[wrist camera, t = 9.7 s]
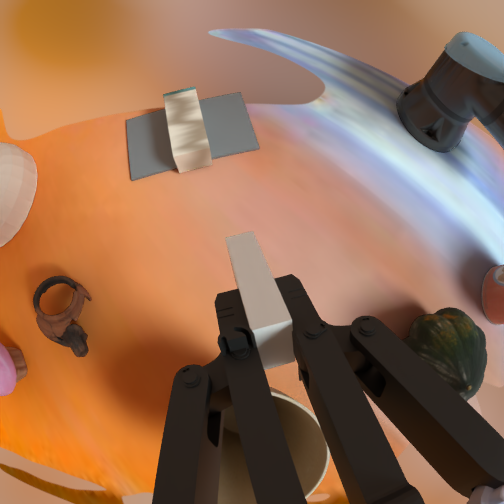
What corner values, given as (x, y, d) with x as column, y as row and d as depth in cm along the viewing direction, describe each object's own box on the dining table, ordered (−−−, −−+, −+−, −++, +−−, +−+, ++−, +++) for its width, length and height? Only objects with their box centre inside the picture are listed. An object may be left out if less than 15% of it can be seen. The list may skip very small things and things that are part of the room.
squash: (480, 296, 35) (492, 311, 24) (482, 384, 33) (488, 428, 21) (400, 311, 44) (379, 330, 32) (406, 394, 42) (385, 437, 30)
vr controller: (40, 321, 38) (18, 292, 31) (83, 290, 43) (68, 258, 37) (75, 379, 33) (52, 358, 27) (123, 343, 39) (109, 316, 33)
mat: (240, 93, 46) (240, 92, 46) (259, 149, 44) (259, 147, 43) (127, 121, 44) (126, 120, 44) (132, 181, 42) (131, 179, 42)
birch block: (212, 164, 42) (198, 105, 45) (209, 147, 38) (195, 86, 40) (179, 173, 42) (169, 113, 44) (173, 156, 37) (163, 94, 39)
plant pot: (187, 449, 35) (164, 511, 19) (191, 354, 38) (162, 379, 22) (291, 456, 35) (317, 518, 19) (302, 361, 38) (341, 390, 22)
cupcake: (23, 331, 36) (-17, 331, 27) (44, 379, 35) (6, 390, 25) (-3, 350, 35) (-40, 353, 25) (16, 395, 34) (-20, 406, 24)
